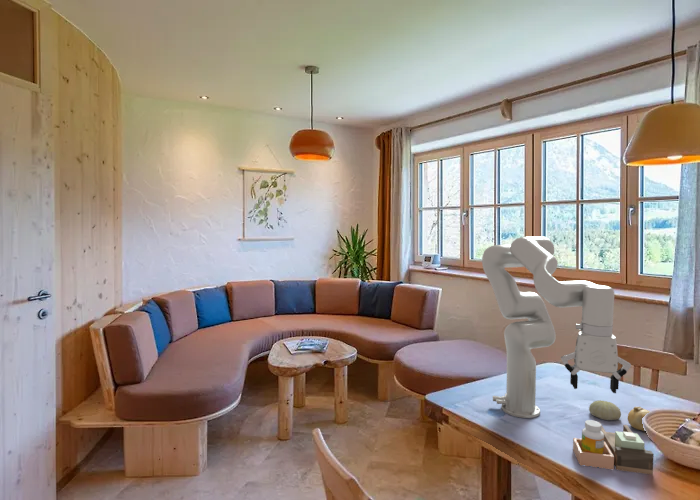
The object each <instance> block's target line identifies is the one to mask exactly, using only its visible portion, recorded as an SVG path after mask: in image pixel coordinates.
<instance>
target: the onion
mask: <svg viewBox="0 0 700 500" xmlns="http://www.w3.org/2000/svg"><path fill="white" fill-rule="evenodd" d="M649 412H651V411H650V410H649V409H645V408H644V407H641V406H634V407H633V408H632V409H631V410H630V411H629V412H628V413H627V422H628V424H629V426H630V427H632V428H634V430H639V431H643V432H645V431H644V428H643V424H642V418H643V417H644V416H645V415H646V414H647V413H649Z"/></svg>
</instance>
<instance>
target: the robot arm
mask: <svg viewBox="0 0 700 500" xmlns="http://www.w3.org/2000/svg"><path fill="white" fill-rule="evenodd" d="M554 255H555V245H554V243H553V242H552V241H551V240H550V239H549V238H548V237H546V236H522V237H518V238H515V239H514V240H513V241H512V242H511V244H496V245H491V246H489V247H487V248H485V250H484V251H483V253H482V260H481V264H482V269H483V272H484V274H485V276H486V278H487V280H488V281H489V283H490V285H491V288H492V291H493V293H494V297H495V300H496V303H497V305H498V309H499V312H500V313H501V315H502V317H503V318H504V319H506V320H520V321H514V322H511V323H509V324H508V325H506V327H505V328H504V331H503V335H504V344H505V348H506V393H504V395H501V396H499V395H492V402H496V404H497V405H501V410H502V411H503V412H504V413H506V414H508V415H509V416H512V417H516V418H521V419H532V418H537V417H539V416H540V415H541V408H539V406H537V405H536V395H537V394H536V391H537V389H536V387H537V384H536V383H537V362H536V358H535V356H534V355H533V353H532V351H531V350H532V349H540V348H541V349H542V348H547V347H550V346H553V344H554V343H555V341H556V337H557V336H556V334H557V333H556V330H555V326H554V324H553V321H552V318H551V316H550V314H549V311H548V308H547V305H546V303H545V301H546V302H548V304H550V305H551V306H554V307H555V308H561V309H562V308H572V307H577V308H578V307H581V321H580V323H576V324H575V329H576V330H579V332H578V334H577V337H576V342H575V348H574V352H570V353H568V354H565V355H562V356H560V359H561V361H562V363H563V366H564V367H565V369H566V370H567V371H568V372H569V373H570V385H572V387H573V389H575V390H577V389H578V383H579V382H578V378H579V377H578V374H577V373H579V372H580V371H582V372H583V371H585V372H595V373H602V374H612V375H611V376H610V383H609V385H610V386H609V390H610V391H611V392H612V393H613V394H617V390H619V385H620V384H619V382H620V380H621V379H622V377H624V376H625V375H626V374H627V373H628V371H629V370H630V368H631V367H632V364H631V363H630V362H629V361H627V360H626V359H624V358H621V357H620V356H619V354H618V343H617V338H616V336H615V335H614V334H613V328H614V311H615V290H614V288H612V287H610V286H608V285H602V284H596V283H594V282H592V281H588V280H566V281H565V280H563V281H559V280H557V279H556V278H555V277H554V276H553V274H554V273H555V272H556V270H557V269H558V268H557V267H558V265H559V264H558V260H557V258H556V257H555V256H554ZM505 268H525V269H527V270H528V271H529V272H530V273H531V274H532V276H533V277H532V279H533V284H534V287H535V290H536V292H537V293H536V292H534V291H520V289H519V287H518V285H517V282H516V279H515V278H514V277H513V275H512V274H510V273H509V272H508V271H507V270H506V269H505ZM543 299H544V300H545V301H544V300H543ZM522 319H524V320H522ZM525 319H527V320H525ZM570 360H573V362H574V364H573V365H570V363H569V361H570ZM619 364H620V365H622V367H620V368H619V369H618V367H619V366H618V365H619Z"/></svg>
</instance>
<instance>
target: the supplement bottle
mask: <svg viewBox="0 0 700 500" xmlns="http://www.w3.org/2000/svg"><path fill="white" fill-rule="evenodd" d="M599 422H600V421H596V420H594V419H593V420H592V419H587V420H585V421H584V428H583V429H581V439H582V449H581V451H582V452H589V453H597V454H604V434H603V432H602V431H601V429H602V426H603V425H602V423H601V422H600V423H601V424H600V423H599Z"/></svg>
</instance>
